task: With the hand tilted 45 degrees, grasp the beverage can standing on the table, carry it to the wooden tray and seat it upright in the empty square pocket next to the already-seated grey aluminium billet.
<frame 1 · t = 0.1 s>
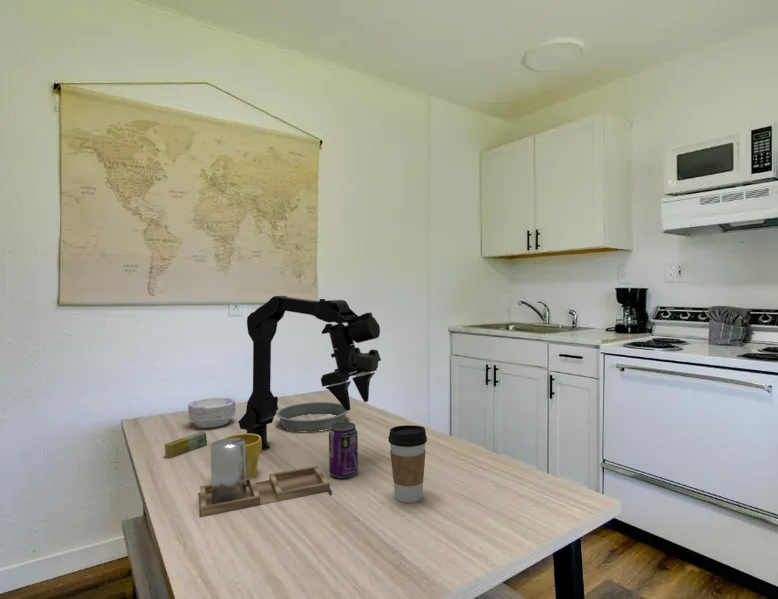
hand: (357, 405, 116), 15 cm above the table, tool pointing down, fingers open, 9 cm apart
medication box: (186, 452, 130), on the table
seated billet: (229, 498, 97), resting on wooden tray
paper bowls: (212, 424, 156), on the table
plant pot: (240, 480, 109), on the table
coffee cup: (408, 497, 99), on the table
wooden tray: (265, 496, 100), on the table
beverage can: (344, 474, 111), on the table
cake pan: (313, 423, 156), on the table
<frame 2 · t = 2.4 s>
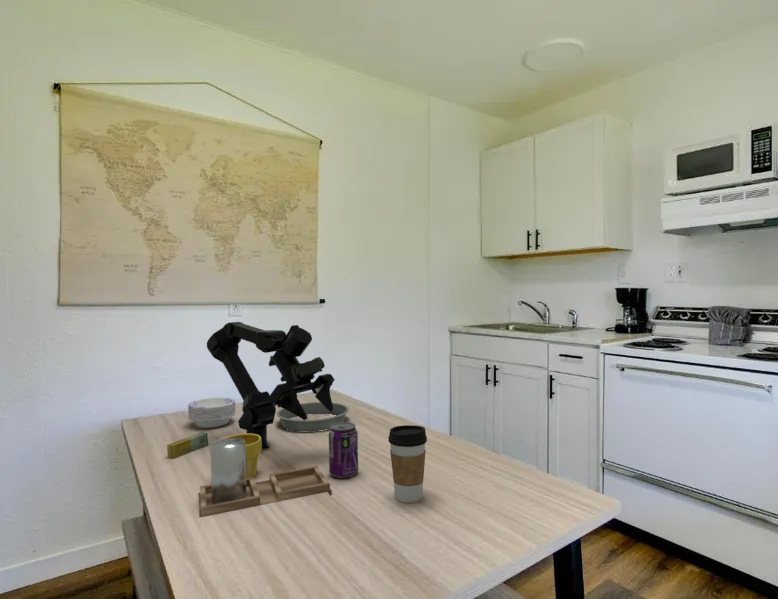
hand: (319, 414, 116), 13 cm above the table, tool tilted 45°, fingers open, 9 cm apart
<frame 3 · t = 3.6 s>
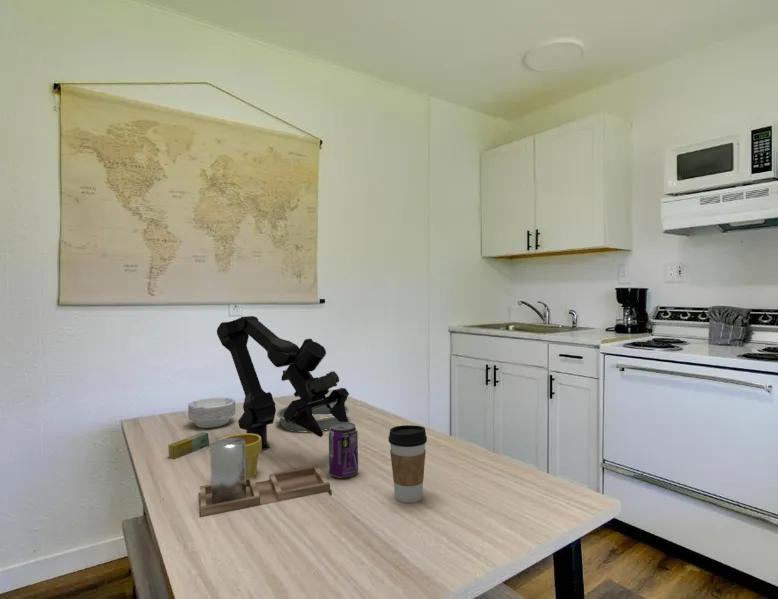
hand: (335, 431, 113), 10 cm above the table, tool tilted 45°, fingers open, 9 cm apart
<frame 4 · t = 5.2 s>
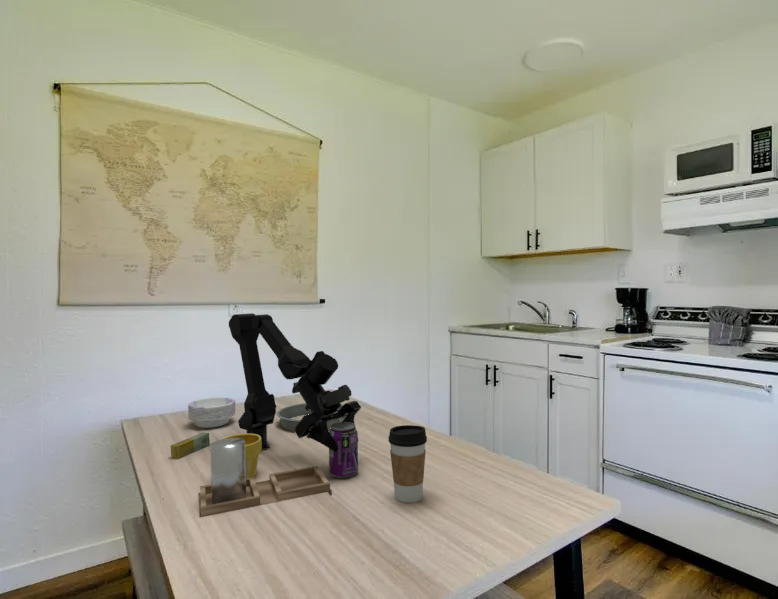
hand: (347, 446, 110), 7 cm above the table, tool tilted 45°, fingers closed on beverage can, 7 cm apart
beverage can: (344, 474, 111), on the table, touching gripper
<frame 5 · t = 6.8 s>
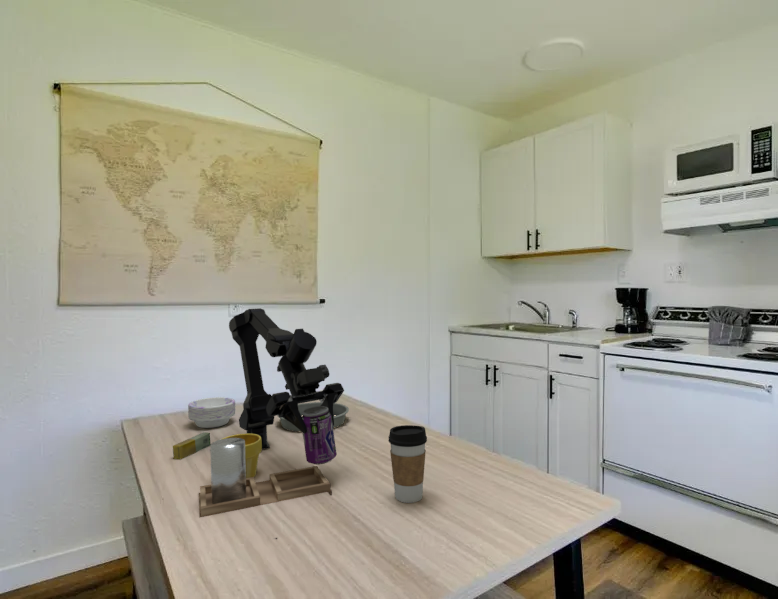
hand: (319, 429, 105), 13 cm above the table, tool tilted 45°, fingers closed on beverage can, 7 cm apart
beverage can: (322, 460, 106), point 5 cm above the table, touching gripper
when the fingers open (9 cm above the table, at t = 8.7 s): beverage can stays where it is, resting on wooden tray.
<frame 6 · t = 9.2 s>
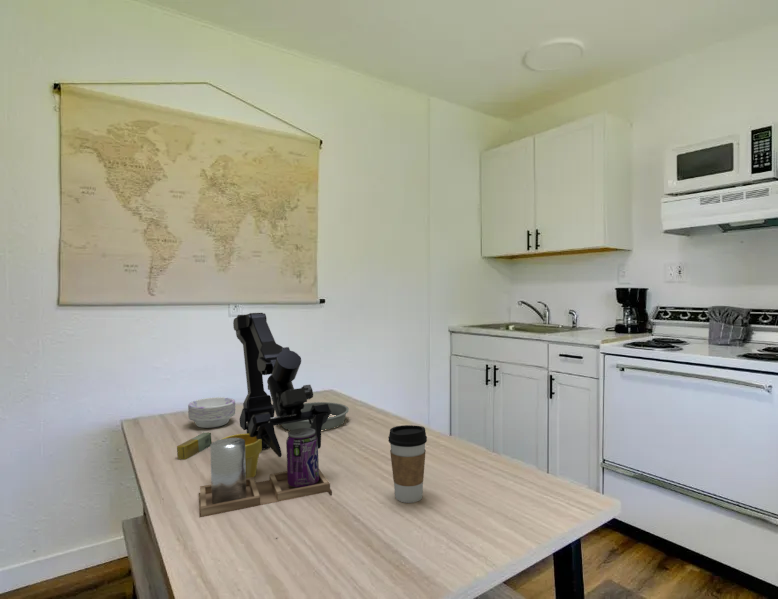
hand: (300, 451, 102), 9 cm above the table, tool tilted 45°, fingers open, 9 cm apart
beverage can: (303, 484, 104), point 1 cm above the table, touching gripper, wooden tray
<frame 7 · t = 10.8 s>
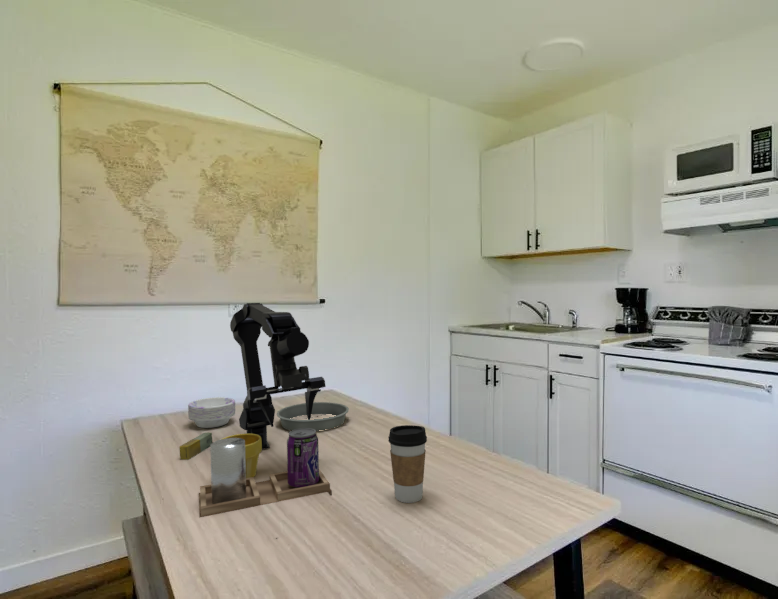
hand: (291, 423, 112), 13 cm above the table, tool pointing down, fingers open, 9 cm apart
beverage can: (303, 484, 104), point 1 cm above the table, touching wooden tray
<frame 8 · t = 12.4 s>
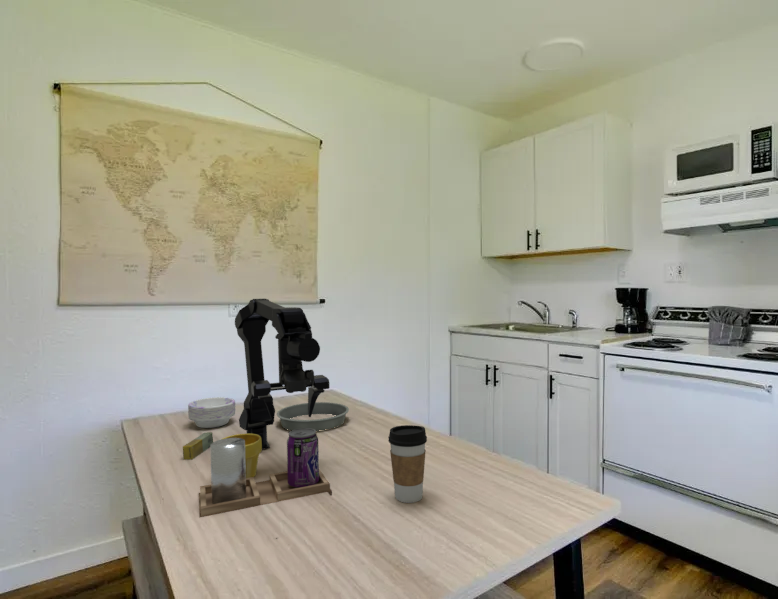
hand: (291, 419, 114), 13 cm above the table, tool pointing down, fingers open, 9 cm apart
at the end: beverage can inside the target area (1.1 cm from its centre), point 0.8 cm above the table; beverage can tilted 0°; the gripper is holding nothing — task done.
